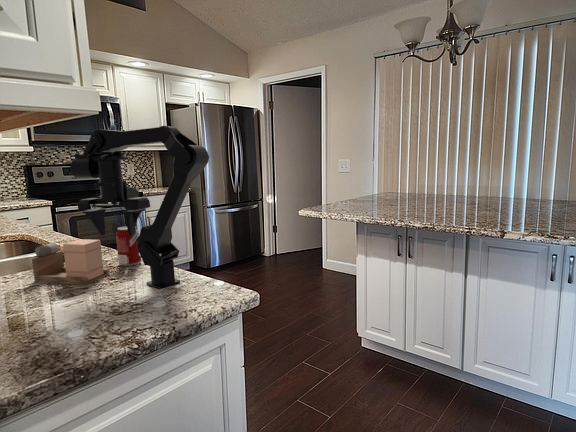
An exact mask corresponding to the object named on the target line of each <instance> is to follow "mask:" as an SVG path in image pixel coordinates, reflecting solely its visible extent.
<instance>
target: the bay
mask: <svg viewBox="0 0 576 432" xmlns="http://www.w3.org/2000/svg"><path fill="white" fill-rule="evenodd" d="M34 252H35V255H36V256H37V257H34V258H31V262H32V271H33V276H34V277H33V278H34V282H35V283H48V284H60V285H61V284H63V285H64V284H65V285H76V286H77V285H78V286H79V285H80V286H81V285H82V286H88V285H89V284H92V283H94V282H96V281H98V280H101V279H103V278H105V277H107V276H109V275H110V271H109V268H103V271H104V274H102V275H100V276H97V277H95V278H93V279H91V280H88V278H87V277H70V276H67V274H66V266H65V259H64V252H63V251H62V250H59V246H58V244H57V243H56V242H51V243H47V244H44V245H40V246H37V247H36V248H35V250H34Z"/></svg>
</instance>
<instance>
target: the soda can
mask: <svg viewBox="0 0 576 432" xmlns="http://www.w3.org/2000/svg"><path fill="white" fill-rule="evenodd" d="M116 229H117V230H116V233H115V238H116V241H115V242H116V250H117V259H118V260H117V261H118V265H120V266H122V267H133V266H137V265H139V264H140V263H141V262H142V258H141V255H140V253H139V251H138V249H137V242H138V241H136V239H137V238H138V237H139V235H140V231H139V230H138V229H137V226H136V227H135V231H134V234H133V235H132V236H130V235H129V232H128V229H127V225H126V226H125V225H124V226H120V227H117V228H116Z"/></svg>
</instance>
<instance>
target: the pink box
mask: <svg viewBox="0 0 576 432" xmlns="http://www.w3.org/2000/svg"><path fill="white" fill-rule="evenodd" d="M101 244H102V243H101V240H100V239H85V238H83V239H81V238H79V239H75V240H73V241H69V242H65V243H63V244H62V249H63V251H62V252H63V259H64V267H66V274H67V276H70V277H87V278H88V280H91V279H93V278H95V277H97V276H100V275H102V274H104V271H103V269H104V262H103V254H102V253H103V252H102V245H101Z"/></svg>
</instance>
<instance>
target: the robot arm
mask: <svg viewBox="0 0 576 432" xmlns="http://www.w3.org/2000/svg"><path fill="white" fill-rule="evenodd" d="M153 144H155V145H156V144H163V145H164V147H165V148H166V150H167V153H169V154H170V155H171V156H172V157H173V162H172V171H173V175H172V178H171V181H170V183H169V185H168V188H167V190H166V193H165V195H164V197H163V199H162V201H161V203H160V207H159V209H158V210H157V214H156V215H155V217H154V220H153V223H151V224H148V225H145V226H142V227H141V229H140V231H139V237H138V238H137V239H136V241H138V242H137V249H138V251H139V253H140V255H141V261H142V262H143V266H148V267H150V268H149V270H150V271H149V272H150V279H151V280H149V281H147V282H146V285H148V286H149V287H154V288H155V289H164V288H166V287H169V286H172V285H176V284H179V283H181V280H180V279H178V278H176V274H175V261H174V259H177V258H178V257H179V253H180V249H178V248H177V246H176V245H174V244H173V243H172V240H173V231H172V228H173V225H174V224H175V221H176V219H177V216H178V215H179V214H178V213H179V212H180V210H181V207H182V206H183V203H184V201H185V198H186V196H187V194H188V192H189V189H190V187H191V185H192V183H193V182H194V181H195V179H196V178H198V176H200V174H202V172H203V171H204V170H205V168H206V166H207V165H208V163H209V161H210V160H209V159H210V155H209V153H208V150H207V149H206V148H205V147H204V146H202V145H198V144H197V143H196V142H195V141H194V140H192V139H190V138H189V137H188V136H186V135H185V134H183V133H182V132H181V131H180V130H179V129H178V128H176V127H175V126H169V125H161V126H158V127H151V128H149V127H148V128H139V129H133V130H132V129H130V130H114V129H111V130H109V129H102V128H101V129H100V128H99V129H97V128H96V129H94V130H92V132H91V134H90V138H89V140H88V142H87V144H86V147H85V148H84V150H83V152H82V153H74V158H73V159H72V160H71V163H70V166H69V170H70V173H71V175H72V176H73V177H74V178H75V179H80V180H81V179H83V180H85V179H98V181H97V182H96V183H95V186H96V187H99V191H100V197H91V198H90V197H89V198H83V199H79V201H78V202H77V211H82V214H85V216H86V217H87V218H88V219H89V221H91V223H92V224H93V225H94V227H95V228H96V230H97V231H98V232H99V234H100V236H105V235H106V224H105V223H106V221H105V213H106V211H107V208H124V209H125V210H124V211H123V217H124V220H125V221H124V222H125V224H126V226H127V229H128V232H129V235H130V236H132V235H133V234H134V231H135V227H136V228H137V222H138V220H139V217H140V215H141V214H142V212H145V211H146V210H147V209H148V208H151V202H150V199H149V198H148V197H147V196H142V197H141V196H140V197H139V190H138V189H136V188H134V187H129V186H128V182H127V180H124V179H123V170H122V161H127V160H128V156H127V155H125V154H124V153H123V152H122V151H124V150H127V149H128V148H130V147H134V146H144V145H153Z"/></svg>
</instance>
